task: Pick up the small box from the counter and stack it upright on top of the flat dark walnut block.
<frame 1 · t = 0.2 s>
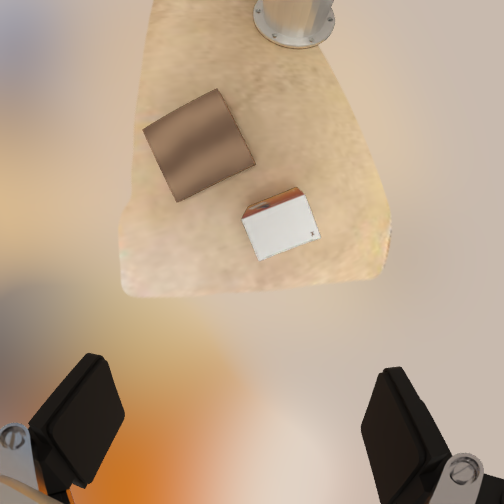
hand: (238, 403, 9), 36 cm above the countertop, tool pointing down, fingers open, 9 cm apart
small box: (278, 213, 43), on the countertop
walnut block: (202, 146, 41), on the countertop
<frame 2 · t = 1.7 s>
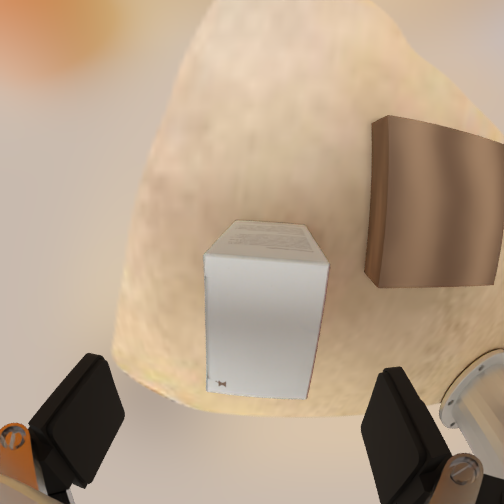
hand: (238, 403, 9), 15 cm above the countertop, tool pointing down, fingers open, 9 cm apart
small box: (267, 269, 23), on the countertop
walnut block: (431, 203, 21), on the countertop
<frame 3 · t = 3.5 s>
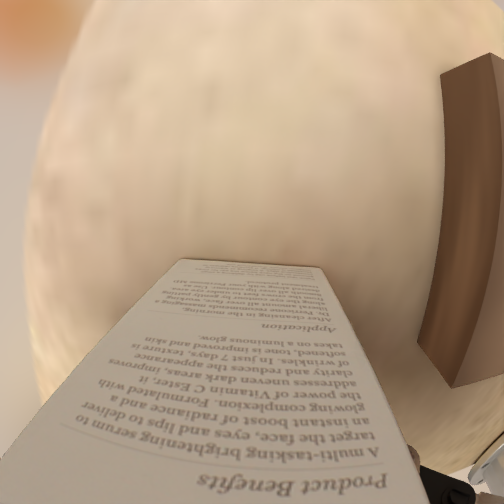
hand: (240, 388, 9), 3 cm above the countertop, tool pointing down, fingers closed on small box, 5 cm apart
small box: (246, 345, 12), on the countertop, touching gripper
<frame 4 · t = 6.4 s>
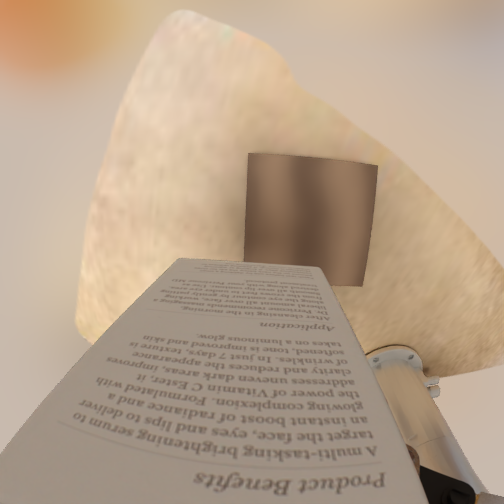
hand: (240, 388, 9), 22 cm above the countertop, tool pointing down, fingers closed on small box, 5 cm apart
small box: (245, 345, 12), point 19 cm above the countertop, touching gripper
walnut block: (305, 216, 30), on the countertop
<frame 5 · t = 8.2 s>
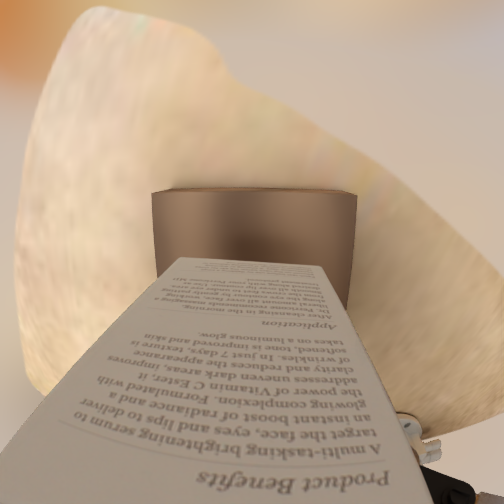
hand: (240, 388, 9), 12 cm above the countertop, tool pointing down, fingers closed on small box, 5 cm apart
small box: (246, 344, 12), point 9 cm above the countertop, touching gripper
walnut block: (254, 270, 22), on the countertop
when the fingers open (8 cm above the countertop, at t = 9.5 s): small box drops 2 cm, resting on walnut block.
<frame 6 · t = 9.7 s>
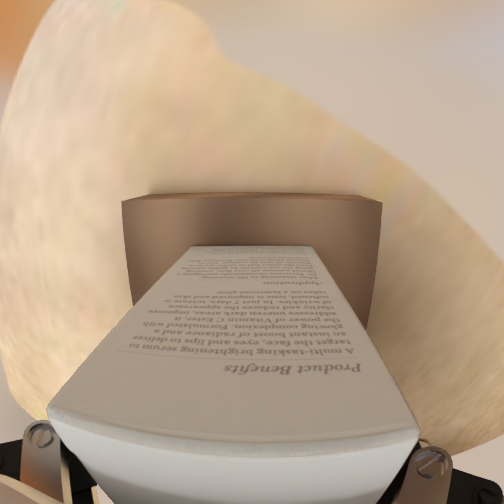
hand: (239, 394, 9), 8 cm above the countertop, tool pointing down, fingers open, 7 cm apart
small box: (252, 320, 14), point 3 cm above the countertop, touching walnut block
walnut block: (252, 291, 18), on the countertop, touching small box
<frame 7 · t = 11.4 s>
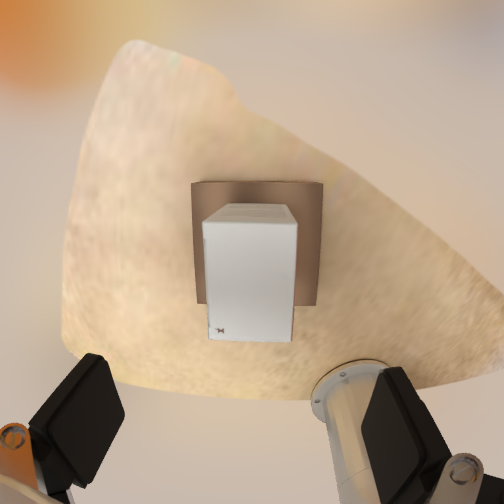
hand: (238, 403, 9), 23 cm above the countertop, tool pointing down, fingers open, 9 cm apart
small box: (256, 244, 28), point 3 cm above the countertop, touching walnut block
walnut block: (257, 237, 31), on the countertop, touching small box
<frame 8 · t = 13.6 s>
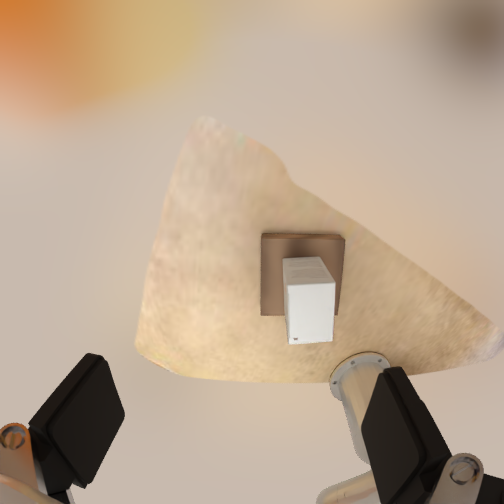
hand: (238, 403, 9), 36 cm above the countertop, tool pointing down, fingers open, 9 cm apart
small box: (301, 281, 43), point 3 cm above the countertop
walnut block: (299, 270, 46), on the countertop
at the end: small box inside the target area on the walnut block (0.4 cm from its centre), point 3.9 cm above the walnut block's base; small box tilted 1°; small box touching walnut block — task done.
